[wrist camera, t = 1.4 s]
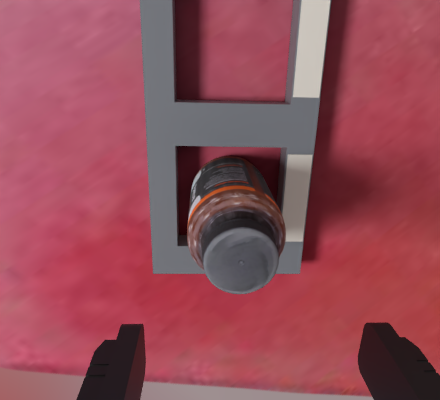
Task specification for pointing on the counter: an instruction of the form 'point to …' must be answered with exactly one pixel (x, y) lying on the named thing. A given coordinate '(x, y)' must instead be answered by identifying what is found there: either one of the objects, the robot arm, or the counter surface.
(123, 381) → the robot arm
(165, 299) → the counter surface
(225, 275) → the supplement bottle
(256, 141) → the socket panel
